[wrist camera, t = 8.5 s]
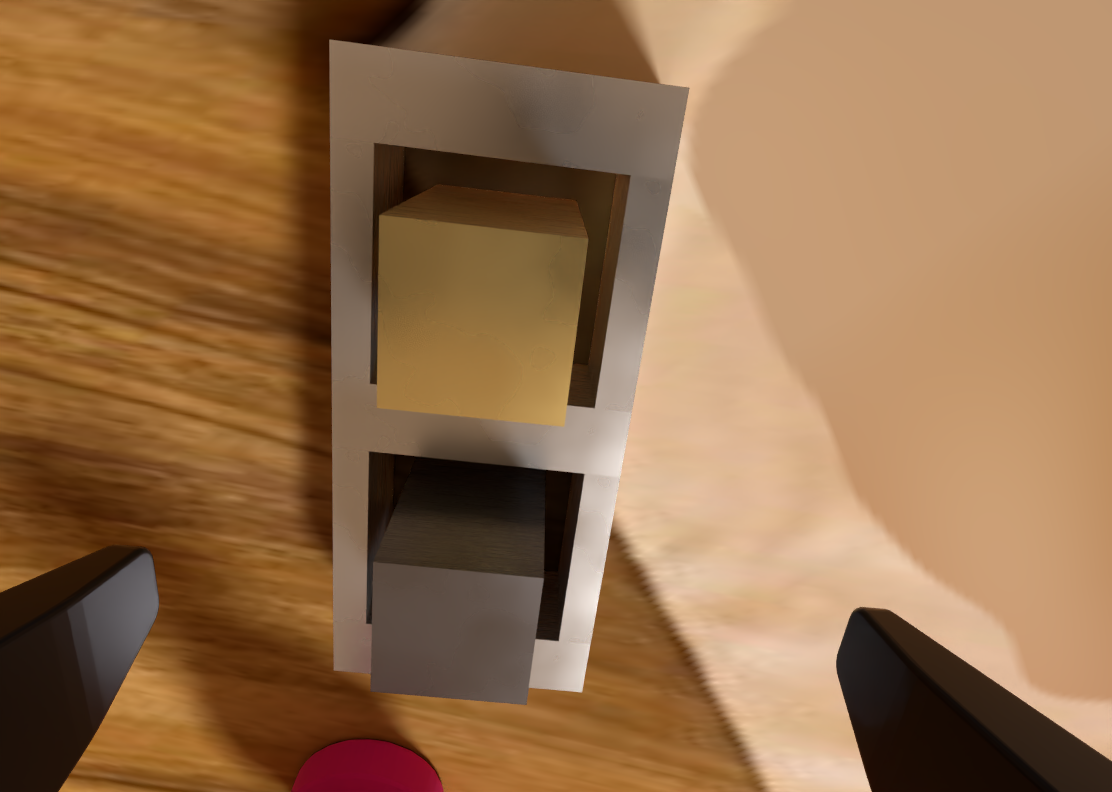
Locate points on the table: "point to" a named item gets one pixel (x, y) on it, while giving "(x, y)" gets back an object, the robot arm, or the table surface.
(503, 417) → the wooden toy block
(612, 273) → the grey slotted block holder
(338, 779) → the pepper mill
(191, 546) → the table surface
